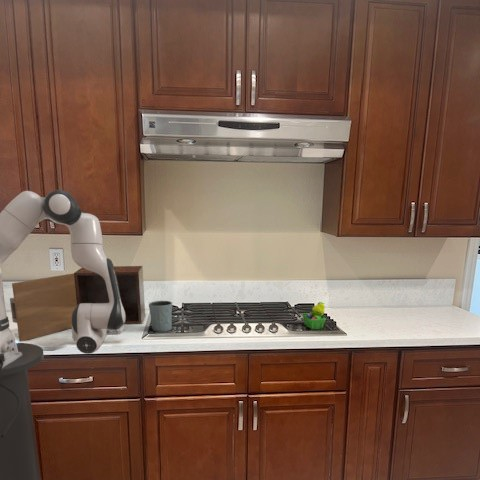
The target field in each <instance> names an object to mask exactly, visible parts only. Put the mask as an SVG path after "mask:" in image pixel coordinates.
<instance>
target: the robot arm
mask: <svg viewBox="0 0 480 480" xmlns="http://www.w3.org/2000/svg"><path fill="white" fill-rule="evenodd" d="M43 220H45V221H47V222H50V223H53V224H55V225H58V226H65V227H66V228H67V229H68V231H69V234H70V235H69V236H70V253H71V254H70V255H71V259H72V260H73V262H74V263H75V265H77V266H78V267H80V268H84V269H86V270H89V271H92V272H95V273H97V274H99V275H100V276H102V277H103V278H104V280H105V283H106V287H107V292H108V297H109V302H108V303H80V304H78V305H77V306H76V308H75V309H74V311H73V314H72V328H71V336H72V340H73V341H74V342H75V345H76V349H77V350H78V351H79V352H81V353H83V354H86V355H88V354H89V355H91V354H94V353H95V352H97V351H98V350H99V349H100V348H101V347H102V345H103V343H104V342H105V340H106V338H107V336H116V335H117V336H118V335H121V334H123V332H124V331H125V330H126V329H125V325H126V324H125V318H126V316H125V311H124V308H123V305H122V301H121V297H120V292H119V287H118V282H117V277H116V273H115V269H114V263H113V261H112V259H111V258H108V257H107V255H106V253H105V251H104V246H103V245H104V243H103V233H102V227H101V223H100V219H99V217H97V216H96V215H94V214H92V213H88V212H83V211H82V209H81V207H80V205H79V204H78V202H77V200H76V198H75V197H74V196H73V195H72V194H71V193H70V192H68V191H66V190H64V189H63V190H62V189H56V190H52V191H50V192H49V193H48V194H46V196H45V197H43V196H40V195H39V194H38V193H36V192H34V191H31V190H24V191H21V192H20V193H19V194H17V196H15V197H14V198H13V199H12V200H11V201H10V202H9V203H8V204H7V205H6V206H5V207H4V208H3V209H2V210H1V212H0V370H1V369H2V368H3V367H5V366H6V365H8V364H10V363H11V362H13V361H14V360H16V359H18V358H19V357H21V356H22V352H19V351H18V349H17V344H16V343H19V340H16V335H15V333H14V332H13V331H12V330H11V328H10V320H9V316H7V309H6V302H5V295H4V293H5V292H4V283H3V275H2V268H1V267H2V265H3V263H4V262H6V260H7V259H8V258H9V257H10V256H11V255H13V253H14V252H15V251H16V250H18V249H19V248H20V246H22V244H23V243H24V242H25V240H26V239H27V238H28V236H29V235H30V234H31V233H32V232H33V230H34V229H35V228H36V227H37V225H38V224H39V223H40V222H42V221H43ZM0 386H1V387H3V388H5V389H6V390H8V391H10V392H11V393H12V394H13V395H14V396H15V397H16V399H17V402H18V405H17V410H16V412H15V414H14V415H13V417H12V419H11V421H10V422H9V424H8V425H7V427H6V428H5V430H4V431H3V433H2V434H1V437H2V438H3V437H4V436H5V434H6V433H7V431H8V430H9V428H10V427H11V425H12V423H13V421H14V420H15V418H16V416H17V414H18V412H19V410H20V405H21V402H20V398H19V396H18V395H17V394H16V393H15V392H14V391H13V390H11V389H10V388H8V387H7V386H5V385H2V384H0Z"/></svg>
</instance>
